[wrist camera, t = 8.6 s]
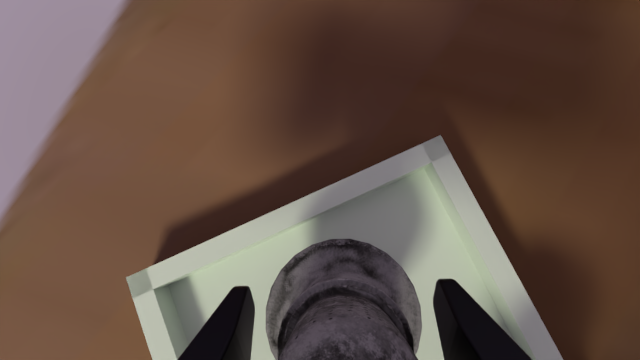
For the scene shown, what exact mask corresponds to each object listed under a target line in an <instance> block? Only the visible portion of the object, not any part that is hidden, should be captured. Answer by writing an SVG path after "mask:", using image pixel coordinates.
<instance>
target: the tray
mask: <svg viewBox="0 0 640 360" xmlns="http://www.w3.org/2000/svg"><path fill="white" fill-rule="evenodd" d="M329 239H353V240H357V241H361V242H365V243H369V244H371V245H373V246H375V247H377V248H379V249H380V250H382V251H384V252H386V253H387V254H388V255H390V256H391V257H392V258H393V259H394V260H395V261H396V262H397V263H398V264H399V265H400V266H401V267H402V268H403V269H404V271H405V273H406V274H407V276H408V277H409V279H410V280H411V282H412V284H413V285H414V288H415V291H416V294H417V297H418V300H419V303H420V306H421V319H422V331H421V337H420V342H419V348H418V351H417V353H416V357H417V358H418V360H444V356H443V352H442V347H441V342H440V337H439V332H438V327H437V322H436V317H435V313H434V308H433V296H434V291H435V286H436V282H437V280H438V279H449V278H451V279H454V280H456V281H457V282H458V283H459V284H460V285H461V286H462V288H463V289H464V290H465V291H466V292H467V293H468V294H469V295H470V296H471V297H472V298H473V299H474V300H475V301H476V302H477V303H478V304H479V305H480V306H481V307H482V308H483V309H484V310H485V311H486V312H487V313H488V314H489V315H490V316H491V317H492V318H493V320H494V321H495V322H496V323H497V324H498V325H499V326H500V327H501V328H502V329H503V330H504V331H505V332H506V333H507V334H508V335H509V336H510V337H511V338H512V339H513V340H514V341H515V342H516V343H517V344H518V345H519V346H520V347H521V348H522V349H523V350H524V352H525V353H526V354H527V355H528V356H529V357H530V358H531V359H532V360H563V358H562V356H561V354H560V353H559V351H558V349H557V347H556V345H555V343H554V342H553V340H552V338H551V336H550V334H549V332H548V331H547V329H546V327H545V325H544V323H543V321H542V320H541V318H540V316H539V314H538V312H537V310H536V309H535V307H534V305H533V303H532V301H531V300H530V298H529V296H528V294H527V292H526V290H525V289H524V287H523V285H522V283H521V281H520V279H519V278H518V276H517V274H516V272H515V270H514V268H513V267H512V265H511V263H510V261H509V259H508V257H507V256H506V254H505V252H504V250H503V248H502V246H501V245H500V243H499V241H498V239H497V237H496V235H495V234H494V232H493V230H492V228H491V226H490V224H489V223H488V221H487V219H486V217H485V215H484V213H483V212H482V210H481V208H480V206H479V204H478V202H477V201H476V199H475V197H474V195H473V193H472V191H471V190H470V188H469V186H468V184H467V182H466V180H465V179H464V177H463V175H462V173H461V171H460V170H459V168H458V166H457V164H456V162H455V160H454V159H453V157H452V155H451V153H450V151H449V149H448V148H447V146H446V144H445V142H444V140H443V138H442V137H441V135H440V136H437V137H435V138H433V139H431V140H429V141H426V142H424V143H422V144H420V145H418V146H415V147H413V148H411V149H409V150H406V151H404V152H402V153H400V154H398V155H395V156H393V157H391V158H389V159H387V160H384V161H382V162H380V163H378V164H376V165H373V166H371V167H369V168H367V169H365V170H362V171H360V172H358V173H356V174H354V175H351V176H349V177H347V178H345V179H342V180H340V181H338V182H336V183H334V184H331V185H329V186H327V187H325V188H323V189H320V190H318V191H316V192H314V193H312V194H309V195H307V196H305V197H303V198H301V199H298V200H296V201H294V202H292V203H290V204H287V205H285V206H283V207H281V208H279V209H276V210H274V211H272V212H270V213H267V214H265V215H263V216H261V217H259V218H256V219H254V220H252V221H250V222H248V223H245V224H243V225H241V226H239V227H237V228H234V229H232V230H230V231H228V232H226V233H223V234H221V235H219V236H217V237H215V238H212V239H210V240H208V241H206V242H203V243H201V244H199V245H197V246H195V247H192V248H190V249H188V250H186V251H184V252H181V253H179V254H177V255H175V256H173V257H170V258H168V259H166V260H164V261H162V262H159V263H157V264H155V265H153V266H151V267H148V268H146V269H144V270H142V271H140V272H137V273H135V274H133V275H131V276H128V277H126V279H127V282H128V286H129V289H130V292H131V295H132V298H133V301H134V304H135V307H136V310H137V313H138V316H139V319H140V322H141V326H142V329H143V332H144V335H145V338H146V341H147V344H148V347H149V350H150V353H151V356H152V359H153V360H178V358H179V357H180V356H181V354H182V353H183V352H184V350H185V349H186V348H187V347H188V345H189V344H190V343H191V341H192V340H193V339H194V337H195V336H196V335H197V333H198V332H199V331H200V329H201V328H202V327H203V326H204V324H205V323H206V322H207V320H208V319H209V318H210V316H211V315H212V314H213V312H214V311H215V310H216V309H217V307H218V306H219V305H220V303H221V302H222V301H223V299H224V298H225V297H226V295H227V294H228V293H229V291H230V290H231V289H232V288H233V287H235V286H249V287H250V290H251V293H252V297H253V301H254V304H255V318H254V329H253V339H252V350H251V360H275V358H274V356H273V354H272V352H271V350H270V346H269V342H268V337H267V333H266V305H267V301H268V298H269V294H270V290H271V287H272V285H273V283H274V281H275V280H276V278H277V276H278V274H279V272H280V271H281V269H282V268H283V267H284V266H285V265H286V264H287V263H288V262H289V261H290V260H291V259H292V258H293V256H294V255H296V254H297V253H299V252H301V251H302V250H304V249H305V248H307V247H309V246H310V245H312V244H316V243H319V242H322V241H326V240H329Z"/></svg>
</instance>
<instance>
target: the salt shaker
mask: <svg viewBox="0 0 640 360" xmlns="http://www.w3.org/2000/svg"><path fill="white" fill-rule="evenodd" d="M421 331H422V319H421V306H420V303H419V300H418V297H417V294H416V291H415V288H414V285H413V284H412V282H411V280H410V279H409V277H408V276H407V274H406V273H405V271H404V269H403V268H402V267H401V266H400V265H399V264H398V263H397V262H396V261H395V260H394V259H393V258H392V257H391V256H390V255H388V254H387V253H386V252H384V251H382V250H380V249H379V248H377V247H375V246H373V245H371V244H369V243H365V242H361V241H357V240H353V239H329V240H326V241H322V242H319V243H316V244H312V245H310V246H309V247H307V248H305V249H304V250H302V251H301V252H299V253H297V254H296V255H294V256H293V258H292V259H291V260H290V261H289V262H288V263H287V264H286V265H285V266H284V267H283V268H282V269H281V271H280V272H279V274H278V276H277V278H276V280H275V281H274V283H273V285H272V287H271V290H270V294H269V298H268V301H267V305H266V333H267V337H268V342H269V346H270V350H271V352H272V354H273V356H274V358H275V360H418V358H417V357H416V353H417V351H418V348H419V342H420V337H421Z"/></svg>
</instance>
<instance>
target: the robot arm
mask: <svg viewBox="0 0 640 360" xmlns="http://www.w3.org/2000/svg"><path fill="white" fill-rule="evenodd" d="M433 308H434V313H435V317H436V322H437V327H438V332H439V337H440V342H441V347H442V352H443V356H444V360H532V359H531V358H530V357H529V356H528V355H527V354H526V353H525V352H524V350H523V349H522V348H521V347H520V346H519V345H518V344H517V343H516V342H515V341H514V340H513V339H512V338H511V337H510V336H509V335H508V334H507V333H506V332H505V331H504V330H503V329H502V328H501V327H500V326H499V325H498V324H497V323H496V322H495V321H494V320H493V318H492V317H491V316H490V315H489V314H488V313H487V312H486V311H485V310H484V309H483V308H482V307H481V306H480V305H479V304H478V303H477V302H476V301H475V300H474V299H473V298H472V297H471V296H470V295H469V294H468V293H467V292H466V291H465V290H464V289H463V288H462V286H461V285H460V284H459V283H458V282H457V281H456V280H454V279H451V278H449V279H438V280H437V282H436V286H435V291H434V296H433ZM254 318H255V304H254V301H253V297H252V293H251V290H250V287H249V286H235V287H233V288H232V289H231V290H230V291H229V293H228V294H227V295H226V297H225V298H224V299H223V301H222V302H221V303H220V305H219V306H218V307H217V309H216V310H215V311H214V312H213V314H212V315H211V316H210V318H209V319H208V320H207V322H206V323H205V324H204V326H203V327H202V328H201V329H200V331H199V332H198V333H197V335H196V336H195V337H194V339H193V340H192V341H191V343H190V344H189V345H188V347H187V348H186V349H185V350H184V352H183V353H182V354H181V356H180V357H179V358H178V360H251V350H252V339H253V329H254Z"/></svg>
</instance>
